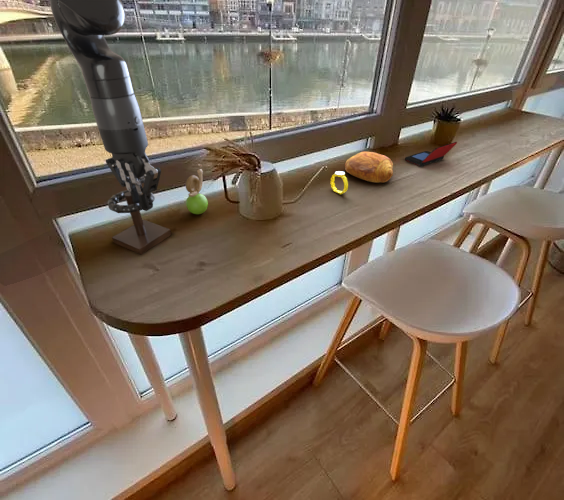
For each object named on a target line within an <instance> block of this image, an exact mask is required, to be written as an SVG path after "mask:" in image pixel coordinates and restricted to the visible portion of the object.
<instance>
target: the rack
mask: <svg viewBox="0 0 564 500" xmlns="http://www.w3.org/2000/svg"><path fill="white" fill-rule="evenodd" d="M124 195H125V201H126V205H131V204H134V202H133V199H132V196H131V193H130V192H127V193H125V194H124ZM129 214H130V217H131V220H132V224H133V225H131V226H129V227H128V228H126V229H124V230H122V231H121V232H118V233H117V234H115V235H114V236H112V237H111V239H112V242H113V243H114V244H116V245H117V246H120V247H122V248H125V249H127V250H129V251H131V252H134V253H136V254H139V255H143V254H144V253H146V252H147V251H149V250H151V249H152V248H154V247H155V246H157V245H158V244H160V243H162V242H163V241H165V240H166V239H167V238H169V237H170V236H172V231H171V228H168V227H165V226H162V225H159V224H157V223H154V222H152V221H150V220H149V221H148V220H147V219H143V217H142V214H141V211H136V212H132V213H129Z"/></svg>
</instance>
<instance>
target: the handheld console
mask: <svg viewBox="0 0 564 500" xmlns="http://www.w3.org/2000/svg"><path fill="white" fill-rule="evenodd" d="M457 144H458V141H454V142H451V143H447V144H444V145H441V146H438V147H435V148H434V149H433V150H432V151H430V150H424V151H420V152H417V153H413V154H410V155H408V156H406V157H405V158H404V160H405V162H408V163H411V164H414V165H416V166H418V167H425V166H427V165H431V164H432V163H436V162H438V161H439V162H440V161H442V160H444V159H445V158H444V157H445V156H446V155H447V154H448V153H449V152H450V151H451V150H452V149H453V148H454V147H455V146H456V145H457Z"/></svg>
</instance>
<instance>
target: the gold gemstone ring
mask: <svg viewBox="0 0 564 500" xmlns="http://www.w3.org/2000/svg"><path fill="white" fill-rule="evenodd" d="M336 177H338V178H341V180H342V181H343V189H342V190H340V189H338V188H337V187H336V183H335V178H336ZM329 182H330V183H329V184H330V187H331V190H332V192H335V193H337V194H338V195H343V194H345V193H346V192H347V191H348V189H349V181H348V178H347V177H346V172H345V171H341V170H338V171H335V172H334V174H332V175H331V177H330V181H329Z"/></svg>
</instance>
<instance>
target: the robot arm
mask: <svg viewBox="0 0 564 500" xmlns="http://www.w3.org/2000/svg"><path fill="white" fill-rule="evenodd" d="M49 6H50V10H51V14H52V16H53V19H54V21H55V24H56V26H57V28H58V30H59V32H60V34H61V36H62V38H63V40H64V41H65V43H66V45H67V47H68V49H69V50H70V53H71V54H72V56H73V57H74V59H75V61H76V62H77V64H78V65H79V68H80V70H81V75H82V77H83V80H84V84H85V87H86V89H87V93H88V96H89V100H90V105H91V110H92V114H93V116H94V120H95V124H96V126H97V130H98V132H99V136H100V139H101V141H102V144H103V148H104V150H105V151H106V152H107V153H108V154H110V155H111V156H112V157H109V158H107V159H105V163H106V165H107V167H108V168H109V170H110V171H111V173H112V174H113V176H114V177H115V179H116V180H117V183H119V185H120V186H121V187H122V188H124V187H125V188H126V190H128V191H129V192H130V193H131V196H132V199H133V202H134V204H136V203H139V202H140V203H141V206H142V209H143V210H142V211H145V212H147V211H149V210H151V209H153V207H154V201H153V202H152V198H151V195H150V193H151V192H152V193H154V192H155V191H157V190H158V187H159V183H160V178H161V174H162V169H161V168H160V167H159V166H157V167H154V166H153V165H152V164H150V159H149V157H148V155H147V153H146V149H147V148H148V146H149V142H148V137H147V134H146V128H145V125H144V122H143V116H142V113H141V108H140V105H139V103H138V100H137V98H136V94H135V91H134V86H133V82H132V78H131V75H130V70H129V67H128V64H127V62H126V60H125V59H124V57H123V56H121V55H120V54H118V53H116V52H114V51H112V49H111V47H109V45H108V42H107V40H106V37H108V36H113V35H115V34H117V33H119V32H120V31H121V30H122V29H123V27H124V25H125V20H126V13H125V7H124V4H123V2H122V0H49ZM142 185H143V186H142Z"/></svg>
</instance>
